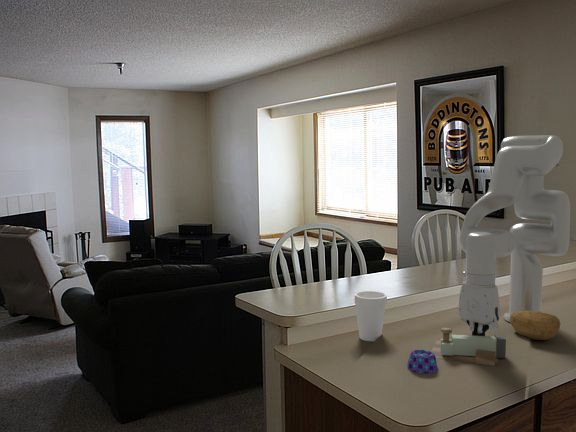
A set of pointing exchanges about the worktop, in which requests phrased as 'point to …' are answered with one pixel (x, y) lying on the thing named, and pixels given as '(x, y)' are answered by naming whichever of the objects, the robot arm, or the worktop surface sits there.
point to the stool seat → (480, 358)
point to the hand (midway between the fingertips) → (478, 345)
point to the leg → (474, 345)
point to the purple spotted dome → (422, 362)
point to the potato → (535, 324)
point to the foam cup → (370, 313)
